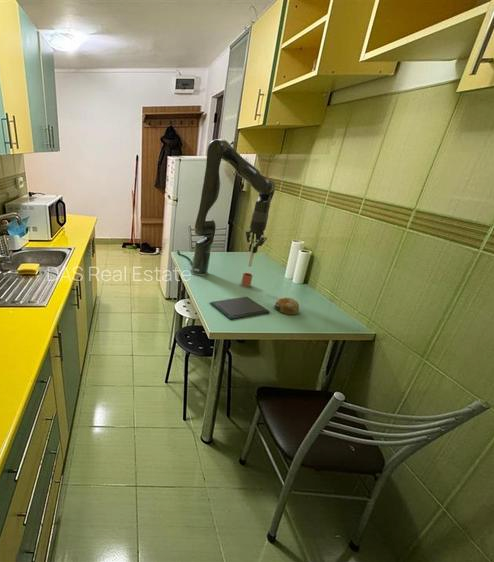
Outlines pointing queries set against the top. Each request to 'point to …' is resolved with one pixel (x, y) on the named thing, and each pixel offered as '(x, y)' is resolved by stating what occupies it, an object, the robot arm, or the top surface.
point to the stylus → (251, 256)
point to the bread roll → (287, 306)
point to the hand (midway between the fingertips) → (252, 251)
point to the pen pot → (246, 279)
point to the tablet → (239, 308)
